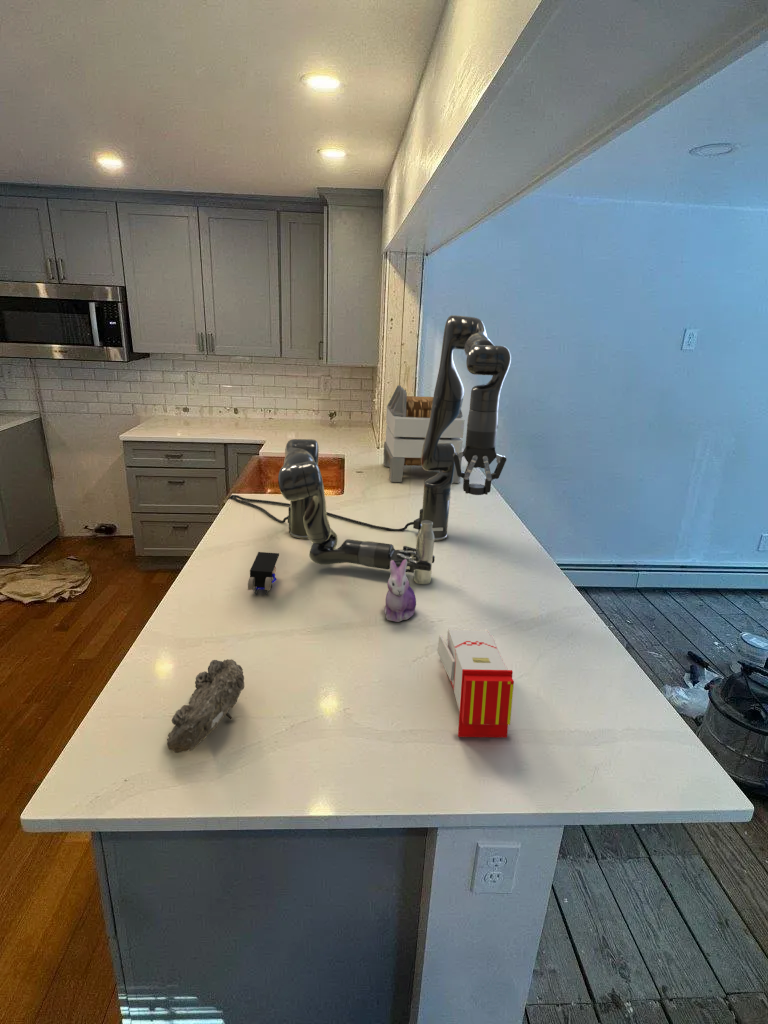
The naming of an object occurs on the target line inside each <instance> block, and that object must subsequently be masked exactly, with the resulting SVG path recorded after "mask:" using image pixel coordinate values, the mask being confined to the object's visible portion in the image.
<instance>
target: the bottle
mask: <svg viewBox="0 0 768 1024" xmlns="http://www.w3.org/2000/svg"><path fill="white" fill-rule="evenodd" d="M432 525H433V522H432V521H429V520H423V521H422V522H421V529H420V531H419V533H418V532H417V535H416V545H415V546H416V547H415V549H416V558H415V561H418V562H419V561H420V562H426V563H431V570H430V571H426V570H419V569H417V570H414V572H413V582H414V583H416V584H418V585H428V584H430V583H431V580H432V579H431V578H432V569H433V563H432V558H433V555H434V546H435V541H434V533H433V530H432Z"/></svg>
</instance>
